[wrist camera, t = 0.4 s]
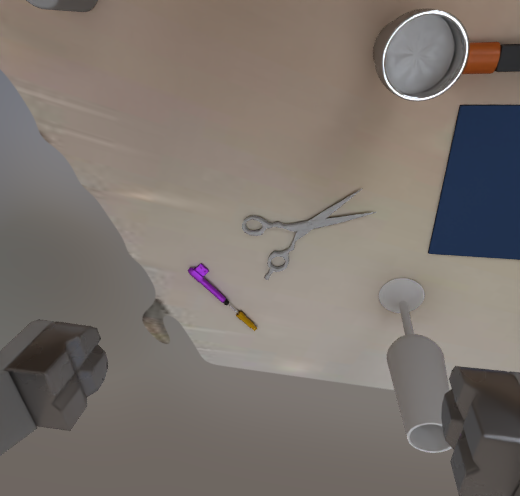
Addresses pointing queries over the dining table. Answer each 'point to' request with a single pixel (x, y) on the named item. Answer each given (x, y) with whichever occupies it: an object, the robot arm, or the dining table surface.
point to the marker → (492, 58)
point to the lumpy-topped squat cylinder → (65, 4)
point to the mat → (481, 186)
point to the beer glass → (421, 54)
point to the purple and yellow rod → (216, 291)
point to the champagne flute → (416, 370)
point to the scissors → (299, 230)
